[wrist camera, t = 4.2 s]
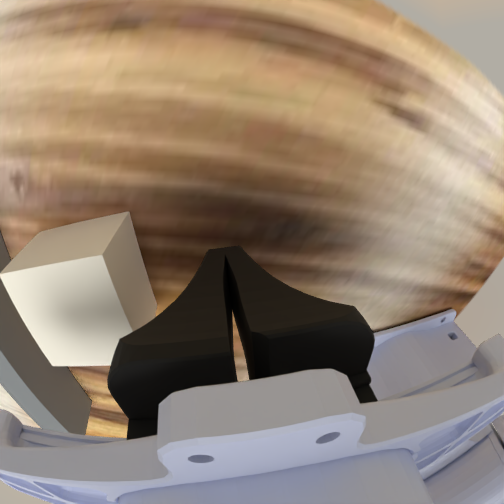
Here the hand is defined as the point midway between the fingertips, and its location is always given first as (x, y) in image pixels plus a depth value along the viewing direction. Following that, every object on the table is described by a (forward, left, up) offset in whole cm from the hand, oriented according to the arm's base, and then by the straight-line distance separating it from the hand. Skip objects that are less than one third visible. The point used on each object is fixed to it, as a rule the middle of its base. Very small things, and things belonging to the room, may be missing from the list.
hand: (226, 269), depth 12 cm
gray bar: (+13, +3, -1) cm, 13 cm away
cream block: (+6, 0, -2) cm, 6 cm away
